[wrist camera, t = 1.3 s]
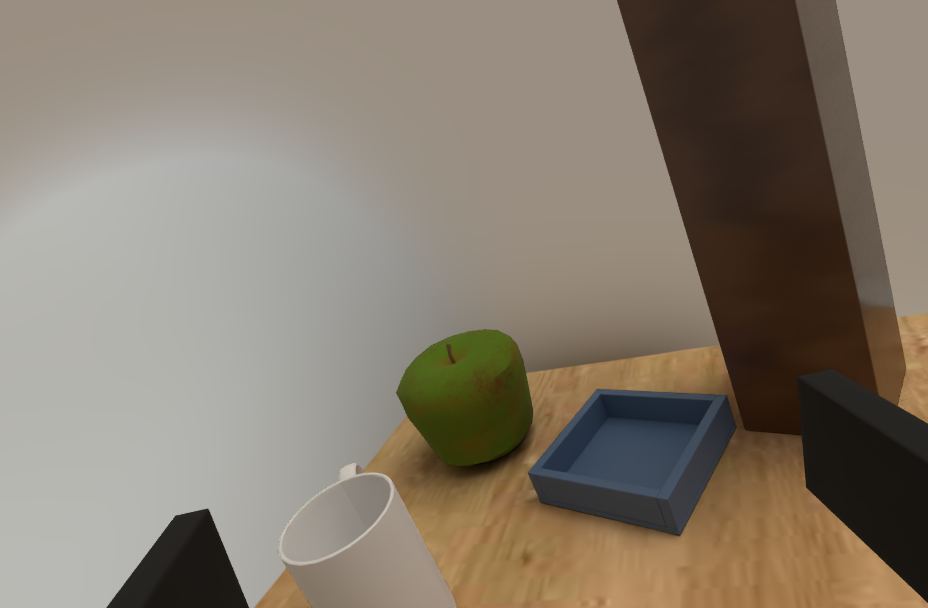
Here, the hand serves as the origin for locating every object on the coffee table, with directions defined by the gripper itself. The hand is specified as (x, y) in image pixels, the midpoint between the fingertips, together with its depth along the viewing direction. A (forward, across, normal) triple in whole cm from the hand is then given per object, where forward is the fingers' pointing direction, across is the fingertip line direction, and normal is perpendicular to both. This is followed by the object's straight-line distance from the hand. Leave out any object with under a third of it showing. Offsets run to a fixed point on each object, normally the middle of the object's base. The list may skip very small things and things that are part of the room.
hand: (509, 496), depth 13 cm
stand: (+28, +24, -17) cm, 41 cm away
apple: (+40, -2, -21) cm, 45 cm away
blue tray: (+29, +9, -19) cm, 36 cm away
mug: (+23, -10, -23) cm, 34 cm away
